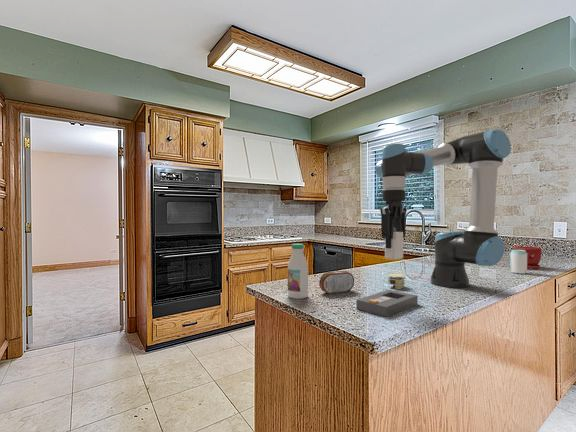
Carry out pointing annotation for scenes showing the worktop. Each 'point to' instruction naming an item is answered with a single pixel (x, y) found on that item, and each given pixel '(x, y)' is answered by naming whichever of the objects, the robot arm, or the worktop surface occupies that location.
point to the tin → (336, 282)
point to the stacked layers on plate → (396, 280)
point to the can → (518, 261)
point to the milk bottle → (297, 273)
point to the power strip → (387, 302)
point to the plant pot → (531, 261)
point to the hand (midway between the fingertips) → (393, 256)
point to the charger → (397, 245)
